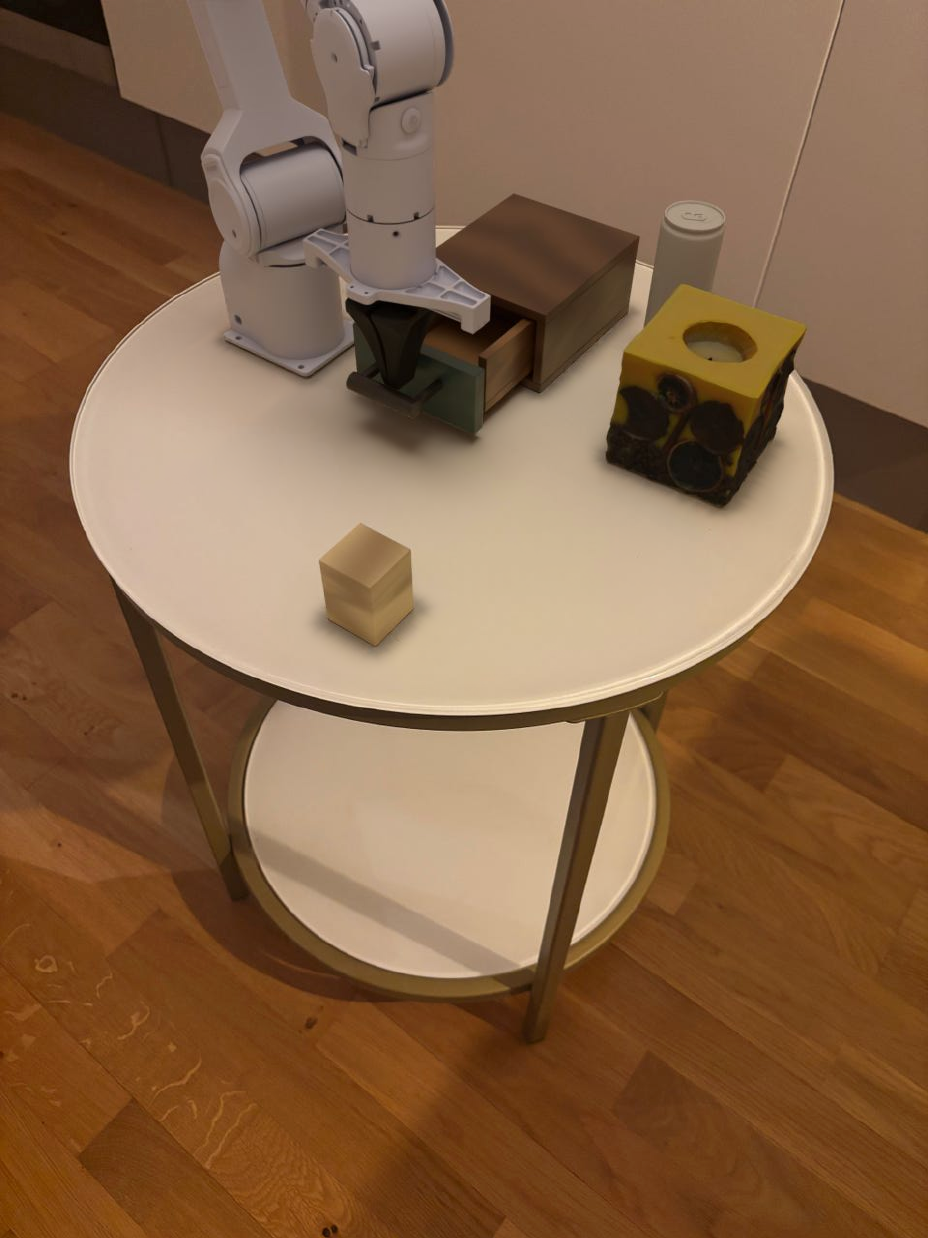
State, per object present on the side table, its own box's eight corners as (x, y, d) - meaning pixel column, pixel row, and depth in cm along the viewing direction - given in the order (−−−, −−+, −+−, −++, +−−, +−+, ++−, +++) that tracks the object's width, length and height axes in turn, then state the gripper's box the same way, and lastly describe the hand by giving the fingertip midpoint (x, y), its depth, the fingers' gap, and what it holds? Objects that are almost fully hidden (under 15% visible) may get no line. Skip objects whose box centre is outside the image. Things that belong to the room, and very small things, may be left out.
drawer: (441, 465, 71) (440, 406, 67) (322, 408, 76) (315, 349, 72) (567, 351, 81) (573, 293, 77) (455, 306, 85) (456, 249, 81)
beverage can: (695, 371, 81) (726, 233, 71) (637, 364, 81) (660, 226, 72) (698, 338, 84) (728, 202, 75) (642, 332, 84) (665, 196, 75)
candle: (657, 392, 79) (679, 279, 71) (776, 435, 75) (813, 321, 68) (599, 461, 73) (616, 347, 66) (725, 512, 70) (758, 397, 62)
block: (327, 618, 63) (318, 559, 59) (366, 581, 65) (360, 522, 61) (375, 647, 61) (369, 588, 57) (414, 608, 64) (411, 549, 59)
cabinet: (539, 393, 79) (546, 315, 73) (415, 340, 83) (412, 263, 78) (628, 311, 86) (640, 235, 81) (510, 267, 91) (513, 192, 86)
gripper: (262, 193, 62) (289, 371, 73) (445, 264, 57) (446, 446, 67) (334, 153, 66) (350, 328, 77) (512, 216, 61) (503, 395, 71)
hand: (399, 380), depth 72 cm, fingers closed
